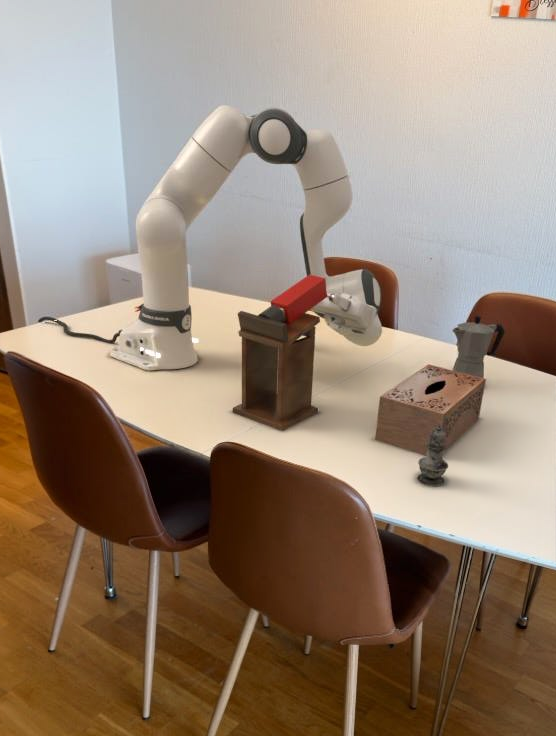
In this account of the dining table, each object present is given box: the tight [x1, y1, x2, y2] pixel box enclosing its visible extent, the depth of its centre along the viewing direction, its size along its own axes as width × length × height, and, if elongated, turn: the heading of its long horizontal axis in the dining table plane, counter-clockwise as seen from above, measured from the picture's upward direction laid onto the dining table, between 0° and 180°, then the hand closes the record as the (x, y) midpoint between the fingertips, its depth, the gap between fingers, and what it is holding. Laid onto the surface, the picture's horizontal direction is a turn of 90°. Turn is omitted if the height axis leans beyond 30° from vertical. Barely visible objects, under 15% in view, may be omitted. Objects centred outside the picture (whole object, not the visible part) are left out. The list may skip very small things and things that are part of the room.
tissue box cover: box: [374, 363, 487, 456], centre depth 159 cm, size 26×14×10 cm, turn 151°
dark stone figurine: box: [417, 424, 449, 487], centre depth 137 cm, size 6×6×12 cm
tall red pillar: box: [257, 275, 327, 325], centre depth 153 cm, size 19×4×9 cm, turn 146°
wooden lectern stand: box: [232, 310, 321, 432], centre depth 156 cm, size 14×14×23 cm
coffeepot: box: [452, 315, 506, 378], centre depth 184 cm, size 15×9×18 cm, turn 113°
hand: (315, 292), depth 159 cm, fingers open, 8 cm apart
